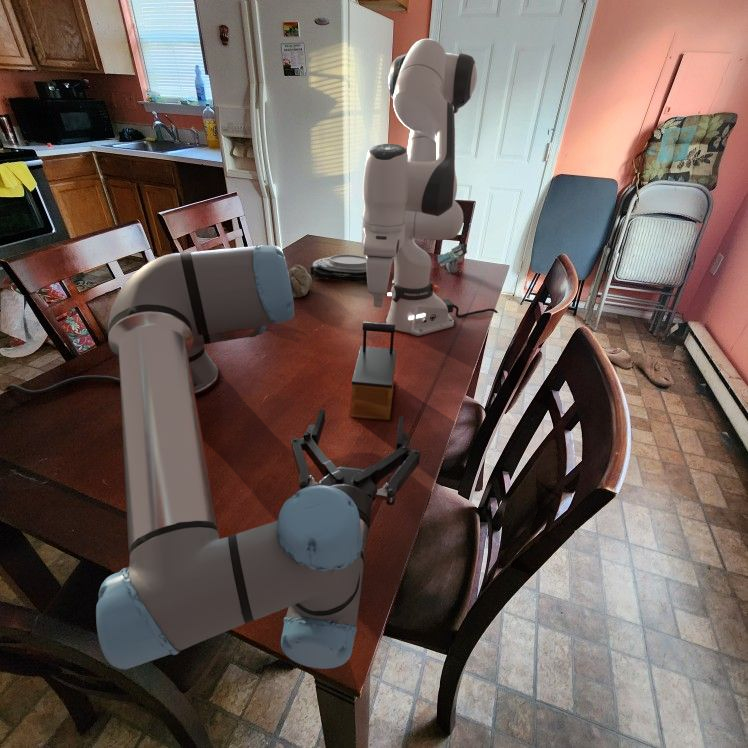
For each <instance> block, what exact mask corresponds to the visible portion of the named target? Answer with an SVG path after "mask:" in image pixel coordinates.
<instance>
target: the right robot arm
mask: <svg viewBox="0 0 748 748" xmlns="http://www.w3.org/2000/svg"><path fill="white" fill-rule="evenodd" d="M477 81H478V71H477V67H476V61H475V59H474V57H473V56H472V55H469V54H466V53H464V52H463V53H462V52H459V54H458V53H452V52H446V51H445V49H444V47H443V46H442V45H441V43H439V42H438V41H437V40H436V39H432V38H422V39H419V40H417V41H416V42H415V43H414V44H413V45H411V47H410V49H409V50H408V52H407V53H405V54H402V55H401V54H400V55H399V56H397V57H395V59H394V60H393V61H392V63H391V65H390V69H389V73H388V89H389V94H390V97H391V98H392V100H393V101H392V103H393V109H394V112H395V115H396V117H397V118H398V120H399V121H400V122H401V124H403V126H404V127H406V128H407V129H409V130H410V132H409V137H408V144H407V149H406V147H404V146H402V145H400V144H396V143H381V144H376V145H373V146H372V147H371V148H369V149H368V151H367V154H366V160H365V165H364V166H365V167H364V172H363V181H362V183H363V185H362V199H363V204H364V210H363V214H362V219H361V220H362V221H361V222H362V223H361V229H362V230H361V244H362V254H363V255H364V256H365V257H366V270H367V282H366V285H367V292H368V294H369V295H373V307H374V308H382V307H383V304H384V302H383V301H384V296H385V295H386V294H387V297H391V301H390V307H389V310H388V314H387V316H386V318H385V324H395V331H397V332H402V333H408V334H411V335H413V336H417V337H420V336H423V335H428V334H431V333H435V332H438V331H443V330H445V329H450V328H453V327H454V326H455V319H454V318H453V317H452V316H451V315H450V313H454V309H455V317H457V318H464V317H467V316H472V315H475V314H481V313H482V314H483V313H486V312H494V314H498V313H499V312H498V310H497V309H495V308H485V309H480V310H475V311H470V312H466V313H463V314H459V309H460V307H458V306H457V305H456V304H454V303H453V301H451V300H450V299H449V298H445V299H444V298H443V299H442V298H441V297H440V296H438V295H437V294H438V293H439V292H440V290H441V289H440V286H438V285H437V284H434V283H433V281H431V280H430V278H431V270H432V259H431V255H429V253H428V252H427V251H425V250H424V249H423V248H421V247H420V246H419V245H417V244H416V241H415V239H422V240H432V241H446V240H453V239H455V237H457V236H458V235H459V233H460V232H461V230H462V229H463V225H464V211H463V209H462V207H461V205H460V204H459V203H458V201H456V198H457V192H458V179H457V174H456V165H455V164H456V162H455V160H456V126H455V124H456V123H455V122H456V121H455V119H456V118H455V114H457V113H458V112H459V109H461V108H462V107H464V106H465V105H466V104H467V103H468V102H469V101H470V100H471V98H472V95H473V93H474V91H475V88H476V84H477ZM393 265H394V269H393V279H392V281H391V282H392V283H391V289H390V292H388V287H389V282H390V277H391V272H392V266H393ZM436 293H437V294H436Z"/></svg>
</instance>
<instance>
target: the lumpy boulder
mask: <svg viewBox="0 0 748 748" xmlns="http://www.w3.org/2000/svg"><path fill="white" fill-rule="evenodd" d="M288 273H289V278H290V283H291V289H292V295H293V299H294V298H298V299H299V298H302V297H304V296H306V295H308V292H309V290H310V289H311V287H312V285H313V279H312V275H311V274H309V272H308V271H307V269H306V268H305V267H304V266H302V265H301V264H294V265H293V266H292V267H291V268H289V269H288Z"/></svg>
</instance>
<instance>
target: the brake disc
mask: <svg viewBox="0 0 748 748" xmlns="http://www.w3.org/2000/svg"><path fill="white" fill-rule="evenodd" d="M310 276H313V277H314V278H318V279H322V278H323V279H327V280H332V281H333V280H334V281H339V282H340V281H341V282H355V283H356V282H359V283H360V282H364V283H367V270H366V256H362V255H357V254H335V255H332V256H330V257H329V256H328V257H323V258H319V259H316V260H314V261H313V263H312V265H310Z"/></svg>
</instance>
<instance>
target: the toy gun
mask: <svg viewBox="0 0 748 748" xmlns="http://www.w3.org/2000/svg"><path fill="white" fill-rule="evenodd" d="M467 249H468V244H467V243H465V242H464V243H460V244H459V245H456V246H455V247H453V248H451V250H450V251H448V252H446V253H441V254H436V255H437V263H438V264H439V265H440V268H442V267H443V268H444V267H446V269H447V273H452V274H453V273H454V274H455V273H457V272H458V264H460V263H462V262H463V260H464V256H465V255H466V254H467V253H468V250H467Z"/></svg>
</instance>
